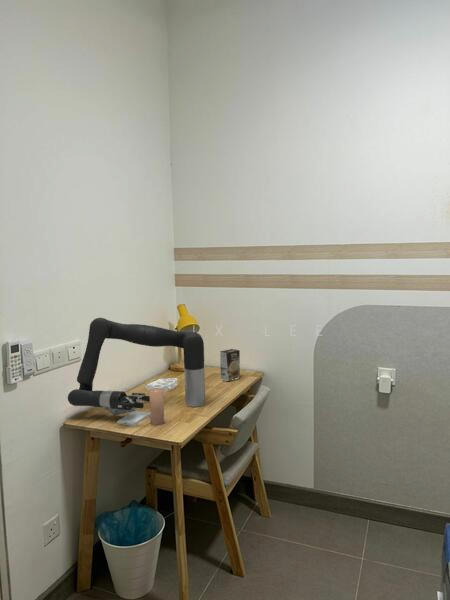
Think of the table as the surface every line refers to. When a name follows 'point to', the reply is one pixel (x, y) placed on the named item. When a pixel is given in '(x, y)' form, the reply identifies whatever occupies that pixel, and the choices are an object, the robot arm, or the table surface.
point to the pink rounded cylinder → (156, 406)
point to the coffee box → (230, 364)
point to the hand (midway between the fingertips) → (147, 402)
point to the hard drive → (133, 418)
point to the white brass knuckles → (163, 384)
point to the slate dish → (120, 411)
